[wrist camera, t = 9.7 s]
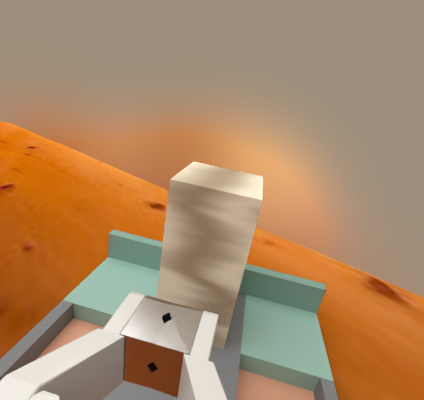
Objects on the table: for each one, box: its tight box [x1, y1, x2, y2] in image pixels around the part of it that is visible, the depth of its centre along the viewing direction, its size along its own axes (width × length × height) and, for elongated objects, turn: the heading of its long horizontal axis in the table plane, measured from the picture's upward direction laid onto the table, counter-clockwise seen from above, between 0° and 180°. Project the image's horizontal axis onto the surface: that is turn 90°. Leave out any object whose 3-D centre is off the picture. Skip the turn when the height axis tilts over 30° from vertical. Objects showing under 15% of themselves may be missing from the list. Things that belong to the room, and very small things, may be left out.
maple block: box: [156, 162, 263, 349], centre depth 21 cm, size 6×6×13 cm
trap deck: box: [0, 230, 338, 400], centre depth 18 cm, size 23×22×5 cm
